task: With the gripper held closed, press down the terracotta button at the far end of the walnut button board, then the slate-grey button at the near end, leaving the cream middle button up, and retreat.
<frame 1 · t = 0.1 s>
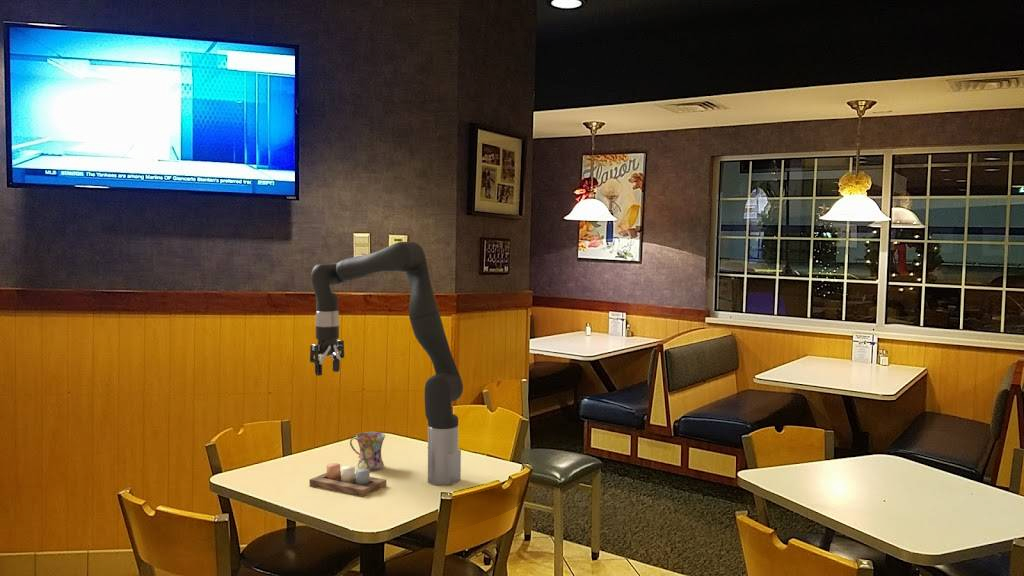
hand: (327, 373, 261), 29 cm above the table, fingers open, 8 cm apart
button far: (333, 471, 239), point 4 cm above the table, slide at 0.0 cm
button near: (362, 477, 234), point 4 cm above the table, slide at 0.0 cm
button board: (347, 486, 237), on the table
mug: (366, 468, 256), on the table
button mid: (347, 474, 237), point 4 cm above the table, slide at 0.0 cm
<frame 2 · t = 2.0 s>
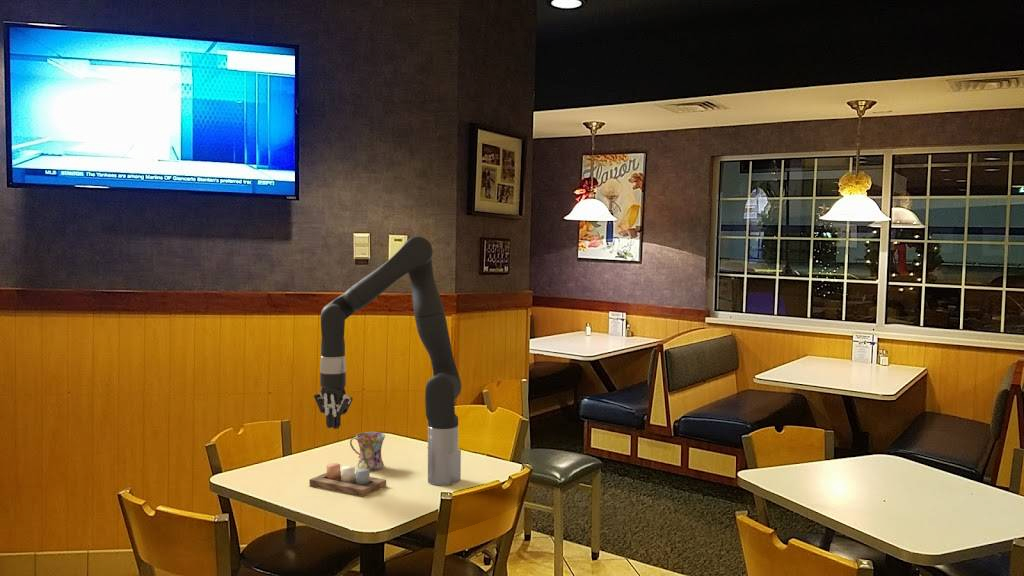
hand: (333, 427, 238), 17 cm above the table, fingers closed
nothing on the table moved.
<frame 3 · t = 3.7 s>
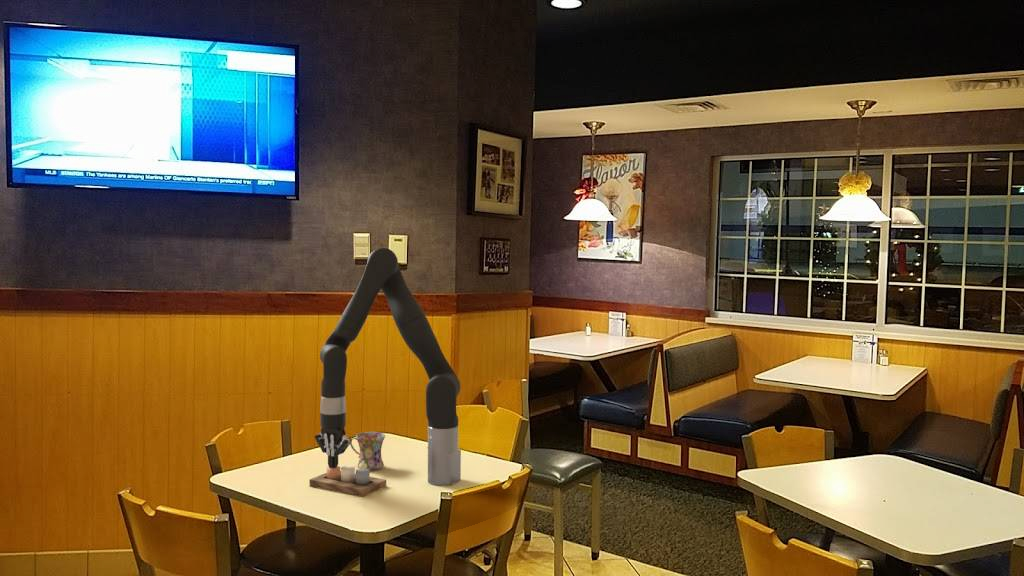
hand: (333, 467, 239), 5 cm above the table, fingers closed
button far: (333, 474, 239), point 3 cm above the table, slide at -0.8 cm, touching gripper
everything else where it was.
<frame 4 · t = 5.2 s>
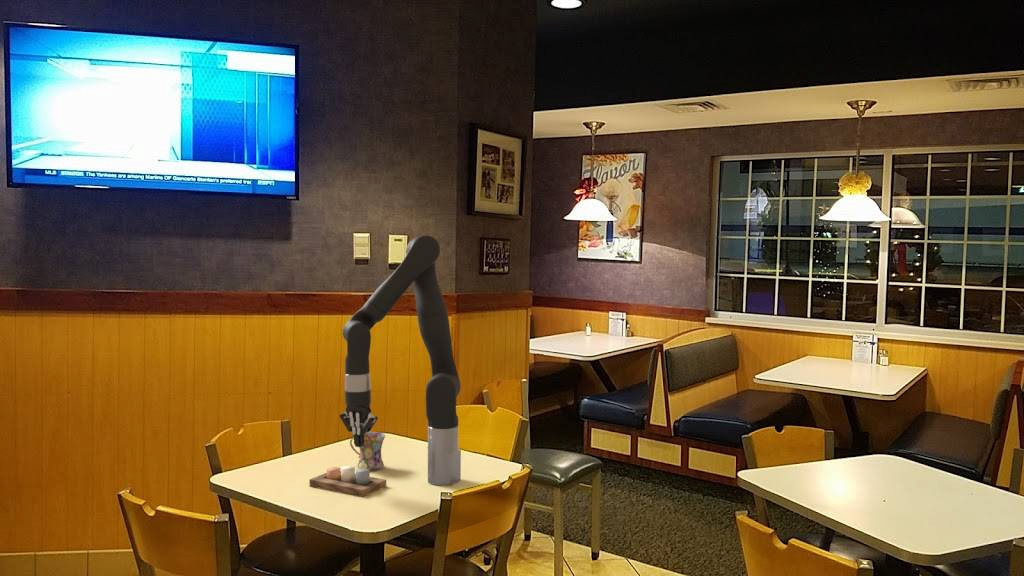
hand: (359, 446, 235), 13 cm above the table, fingers closed
button far: (333, 475, 239), point 2 cm above the table, slide at -1.2 cm
everything else where it was.
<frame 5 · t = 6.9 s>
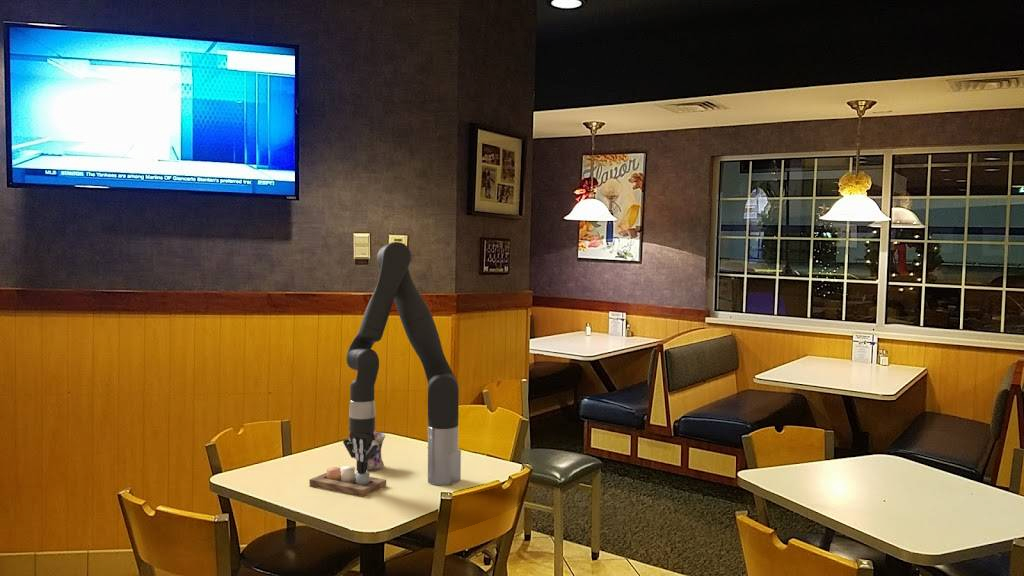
hand: (361, 472, 234), 5 cm above the table, fingers closed
button near: (362, 479, 234), point 3 cm above the table, slide at -0.8 cm, touching gripper
everything else where it was.
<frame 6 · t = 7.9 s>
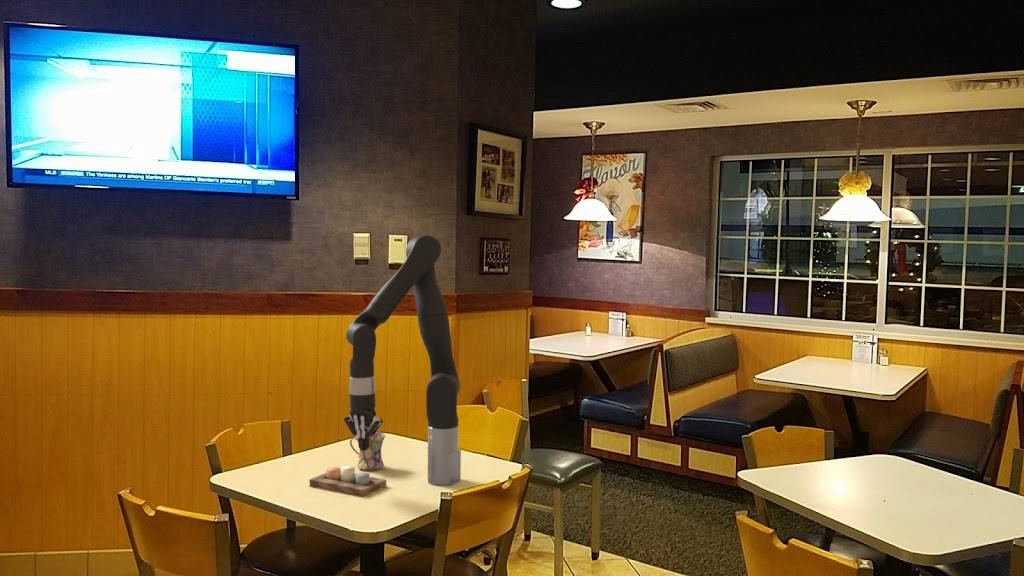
hand: (363, 449, 233), 12 cm above the table, fingers closed
button near: (362, 481, 234), point 2 cm above the table, slide at -1.2 cm
everything else where it was.
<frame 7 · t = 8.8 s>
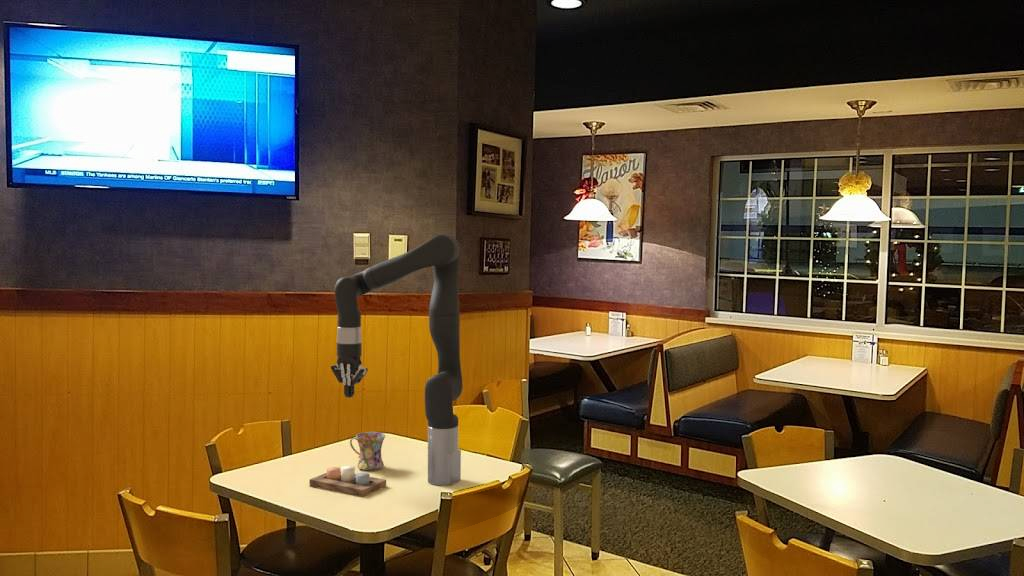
hand: (349, 396, 245), 25 cm above the table, fingers closed
nothing on the table moved.
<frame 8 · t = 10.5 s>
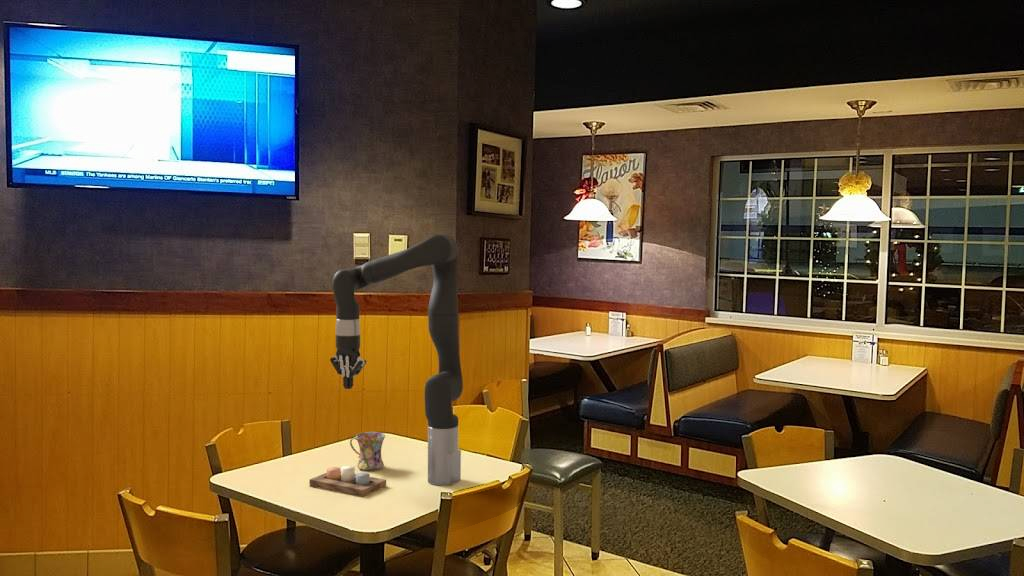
hand: (348, 388, 248), 27 cm above the table, fingers closed
nothing on the table moved.
at the end: button far slide at -1.2 cm; button near slide at -1.2 cm; button mid slide at 0.0 cm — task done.
